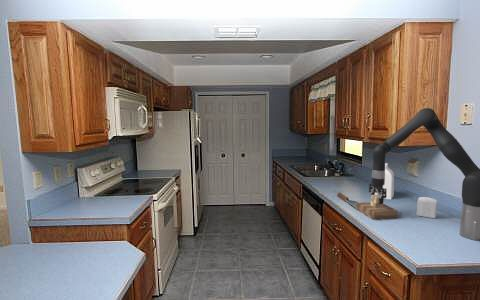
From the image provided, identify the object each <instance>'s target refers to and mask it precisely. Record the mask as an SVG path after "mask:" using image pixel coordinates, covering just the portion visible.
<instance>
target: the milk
mask: <svg viewBox="0 0 480 300" xmlns="http://www.w3.org/2000/svg"><path fill="white" fill-rule="evenodd" d="M383 188H386V189H387V193H386V198H384V199H386V200H392V199H393V198H394V195H395V194H394V193H395V192H394V191H395V190H394V189H395V173H394V171H393V170H392V168H390V167H389V163H387V162H385V184H384V185H383ZM375 195H378V194H377V193H375ZM381 196H382V195H381Z"/></svg>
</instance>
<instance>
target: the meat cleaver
mask: <svg viewBox="0 0 480 300" xmlns="http://www.w3.org/2000/svg"><path fill="white" fill-rule="evenodd" d="M337 197H338V198H340V200H341V201H344V202H347V203H348V204H350V205H351V206H353V208H355V209H356V210H357V209H358V208H357V203H359V201H355V200H351V199H349V197H347V196H346V195H345V194H343V193H341V192H338V193H337Z"/></svg>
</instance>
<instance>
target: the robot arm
mask: <svg viewBox="0 0 480 300" xmlns="http://www.w3.org/2000/svg"><path fill="white" fill-rule="evenodd" d="M422 127H424V129H426V131H427V132H428V133H429V134H430V136H431V137H432V139H433V141H434V143H435V145H436V147H437V148H438V149H439V151H440V152H441V153H442V155H443V156H444V157H445V158H446V159H447V160H448V162H450V163H451V164H452V165H454V166H455V167H456V168H458V169H459V170H460V171H461V173H462V174H463V175H464V178H463V180H462V184H461V198H462V204H461V213H460V214H461V215H460V225H459V235H460V236H461V237H463V238H466V239H469V240H473V241H478V240H479V241H480V168H479V167H478V166H477V164H476V163H475V162H474V160H473V159H472V158H471V156H470V155H469V153H467V151H466V150H465V149H464V147H463V146H462V145H461V143H460V142H459V141H458V140H457V138H456V137H455V136H453V134H452V133H451V132H449V130H447V129H446V128H445V127H444V125H443V124H442V122H441V120H440V119H439V117H438V115H437V112H435V110H434V109H433V108H430V107H425V108H422V109H420V110H419V111H418V112H417V113H416V114H415V115H414V116H413V117H412V118H411V119H410V120H409V121H408V122H407V123H405V125H403V126H402V127H401V128H399V129H398V130H397V131H395V132H394V133H392V134H391V135H390V136H389V137H388V138H386V139H385V140H384V141H382V142H381V143H380V144H378V145H377V146H375V147H374V148H373V149H372V160H373V162H372V171H371V182H370V183H369V184H368V185H369V186H368V193H370V196H371V195H375V193H377V194H378V195H379V197H380V199H379V204H384V199H385V198H386V193H387V189H386V188H383V185H384V184H385V163H386V154H388V153H389V152H390V151H391V150H393V149H395V148H396V147H397V146H399V145H401V144H402V143H403V142H404V141H406V140H407V139H408V138H409V137H410V136H411V135H412V134H413V133H415V132H416V131H417V130H418V129H419V128H422ZM381 195H382V196H381Z"/></svg>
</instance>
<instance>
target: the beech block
mask: <svg viewBox="0 0 480 300" xmlns="http://www.w3.org/2000/svg"><path fill="white" fill-rule="evenodd" d="M379 199H380V197H379V195H371V194H370V202H371V206H373V207H375V208H383V204H384V203H383V204H379Z"/></svg>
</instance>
